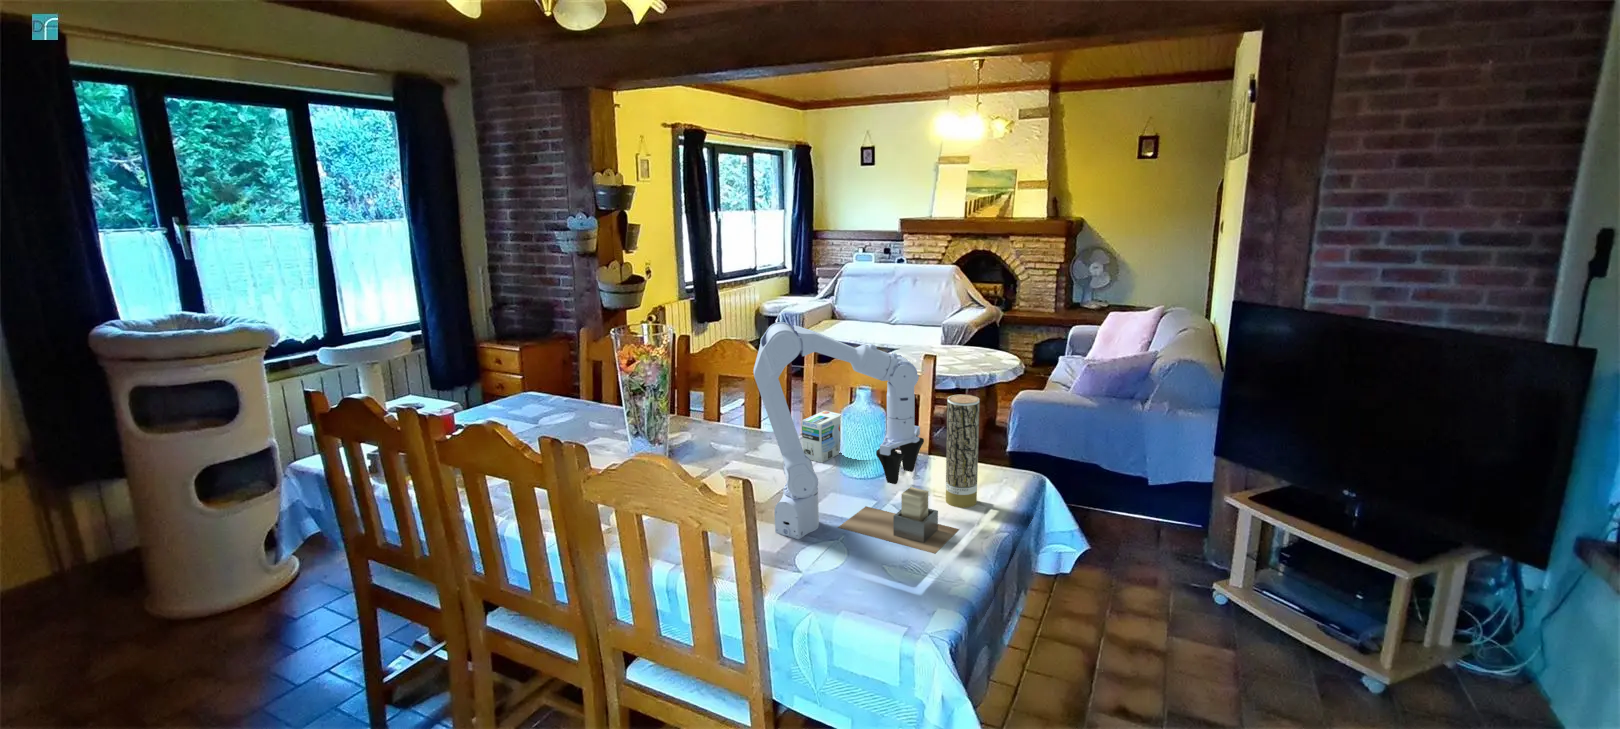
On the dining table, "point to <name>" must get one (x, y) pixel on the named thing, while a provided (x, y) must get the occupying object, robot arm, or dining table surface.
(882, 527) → the plank
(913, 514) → the beige wooden block
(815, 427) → the light bulb box
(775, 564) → the dining table surface
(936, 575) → the dining table surface
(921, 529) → the grey open box
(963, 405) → the paper tube
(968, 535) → the dining table surface
